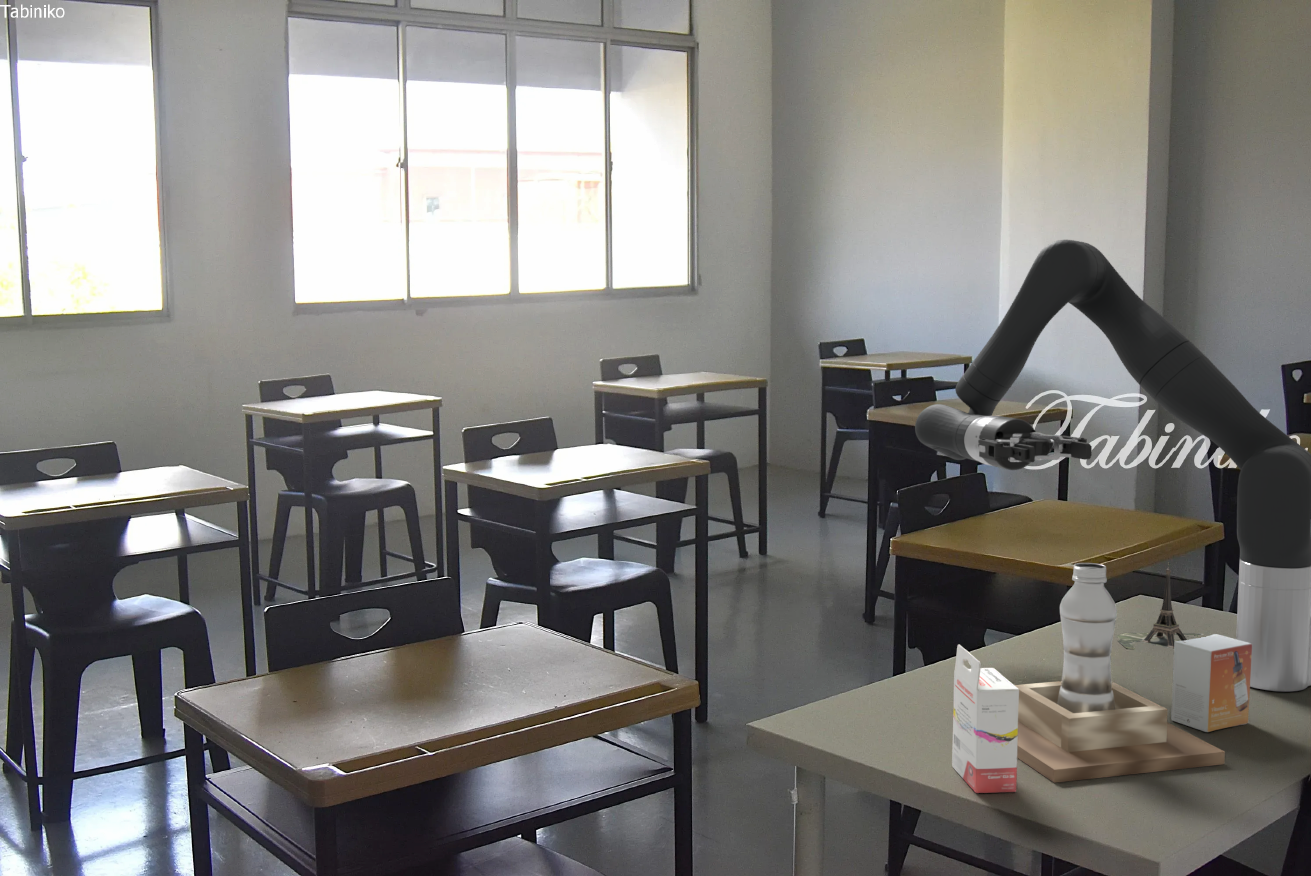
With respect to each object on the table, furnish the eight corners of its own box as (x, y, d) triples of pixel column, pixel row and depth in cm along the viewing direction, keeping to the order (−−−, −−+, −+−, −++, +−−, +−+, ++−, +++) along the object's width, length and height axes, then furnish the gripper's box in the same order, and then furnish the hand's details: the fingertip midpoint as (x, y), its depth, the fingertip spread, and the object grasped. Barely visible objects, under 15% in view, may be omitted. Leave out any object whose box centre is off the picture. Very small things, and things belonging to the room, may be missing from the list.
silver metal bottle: (1118, 737, 150) (1124, 572, 147) (1059, 733, 151) (1063, 570, 149) (1110, 719, 156) (1115, 561, 154) (1053, 716, 157) (1057, 559, 155)
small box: (1206, 734, 156) (1210, 651, 154) (1169, 720, 160) (1172, 640, 159) (1250, 723, 159) (1253, 642, 158) (1212, 711, 164) (1215, 632, 163)
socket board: (1112, 705, 167) (1113, 664, 166) (1224, 764, 145) (1226, 717, 145) (961, 719, 161) (961, 677, 161) (1054, 782, 140) (1055, 734, 140)
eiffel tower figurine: (1203, 636, 202) (1206, 555, 200) (1226, 654, 192) (1230, 568, 190) (1107, 635, 203) (1110, 554, 202) (1126, 652, 193) (1129, 567, 192)
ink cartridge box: (1019, 793, 137) (1022, 662, 136) (975, 794, 137) (977, 663, 135) (992, 764, 146) (994, 640, 144) (950, 766, 146) (952, 642, 144)
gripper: (956, 418, 184) (1014, 428, 168) (1043, 414, 187) (1107, 423, 172) (956, 469, 185) (1013, 483, 169) (1042, 464, 188) (1106, 478, 173)
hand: (1060, 453), depth 171 cm, fingers open, 8 cm apart
